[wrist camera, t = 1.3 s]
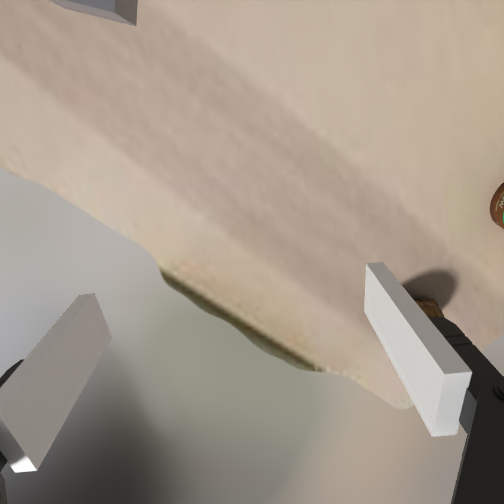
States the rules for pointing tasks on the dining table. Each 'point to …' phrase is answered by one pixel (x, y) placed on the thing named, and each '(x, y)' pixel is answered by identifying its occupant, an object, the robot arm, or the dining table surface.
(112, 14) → the sliding tray
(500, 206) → the food container
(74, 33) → the dining table surface
